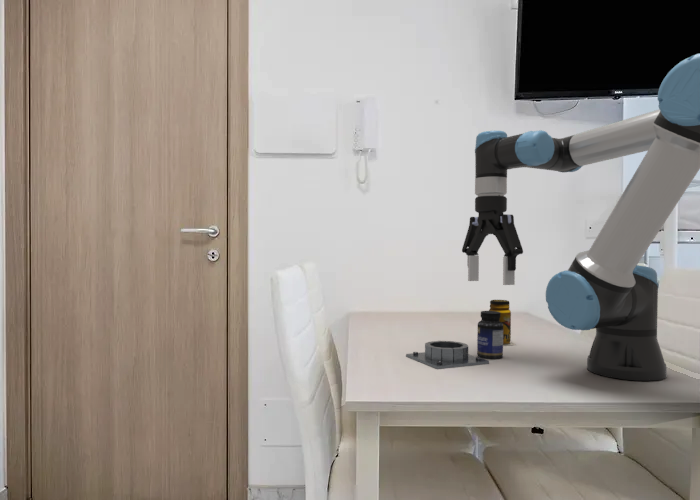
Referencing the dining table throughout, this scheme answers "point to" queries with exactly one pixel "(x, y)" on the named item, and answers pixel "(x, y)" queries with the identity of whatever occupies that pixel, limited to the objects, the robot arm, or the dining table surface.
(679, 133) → the robot arm
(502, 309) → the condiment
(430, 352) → the fitting
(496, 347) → the pill bottle
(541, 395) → the dining table surface
